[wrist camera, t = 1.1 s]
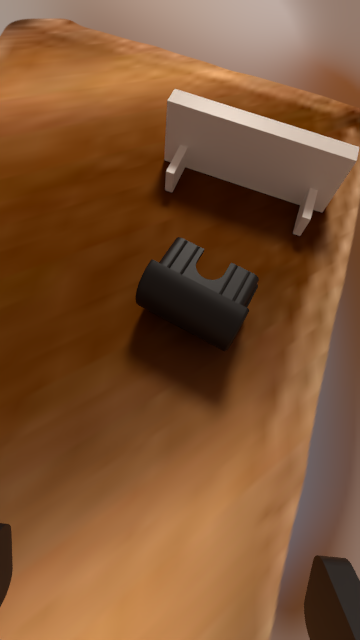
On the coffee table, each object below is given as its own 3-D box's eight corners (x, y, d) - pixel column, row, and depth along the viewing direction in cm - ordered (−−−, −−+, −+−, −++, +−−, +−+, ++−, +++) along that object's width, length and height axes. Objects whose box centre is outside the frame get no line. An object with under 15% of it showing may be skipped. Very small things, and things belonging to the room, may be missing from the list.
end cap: (135, 316, 36) (133, 283, 30) (168, 268, 38) (172, 228, 32) (220, 362, 34) (235, 337, 28) (247, 308, 37) (267, 275, 31)
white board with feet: (150, 185, 43) (150, 127, 36) (170, 149, 46) (174, 88, 39) (315, 241, 42) (350, 192, 35) (325, 199, 45) (359, 147, 38)
